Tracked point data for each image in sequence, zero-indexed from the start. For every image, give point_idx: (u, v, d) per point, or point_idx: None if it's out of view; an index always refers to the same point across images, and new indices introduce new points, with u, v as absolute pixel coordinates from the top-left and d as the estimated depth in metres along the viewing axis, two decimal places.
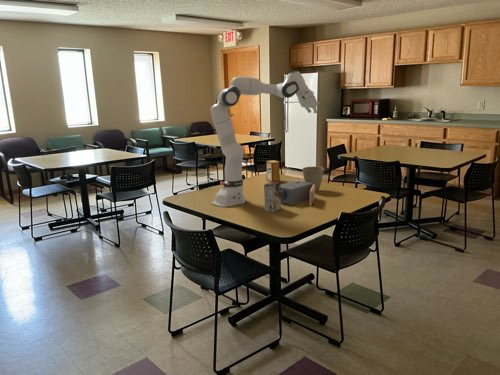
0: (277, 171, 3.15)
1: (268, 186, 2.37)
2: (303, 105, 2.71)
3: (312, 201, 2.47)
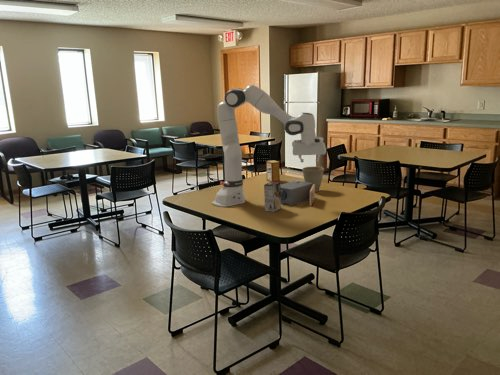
0: (277, 171, 3.15)
1: (268, 186, 2.37)
2: (300, 152, 2.48)
3: (312, 201, 2.47)
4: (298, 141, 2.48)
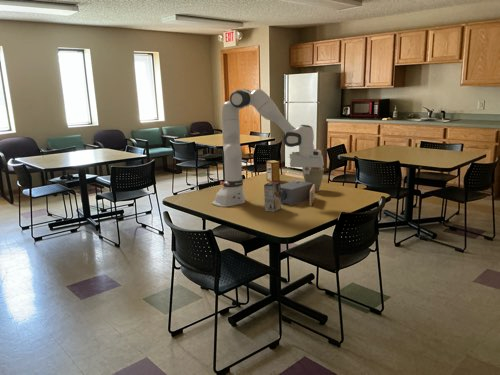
0: (277, 171, 3.15)
1: (268, 186, 2.37)
2: (298, 164, 2.47)
3: (312, 201, 2.47)
4: (296, 153, 2.47)
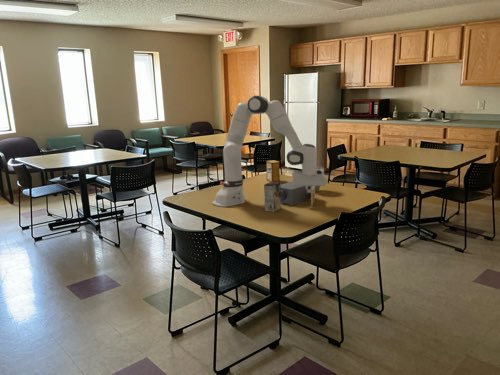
0: (277, 171, 3.15)
1: (268, 186, 2.37)
2: (301, 183, 2.48)
3: (313, 201, 2.47)
4: (299, 172, 2.48)
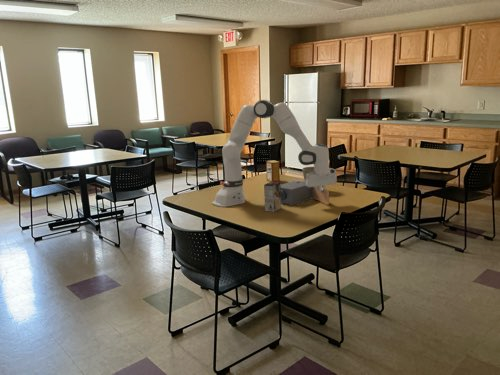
0: (277, 171, 3.15)
1: (268, 186, 2.37)
2: (315, 183, 2.45)
3: (328, 200, 2.48)
4: (312, 173, 2.45)
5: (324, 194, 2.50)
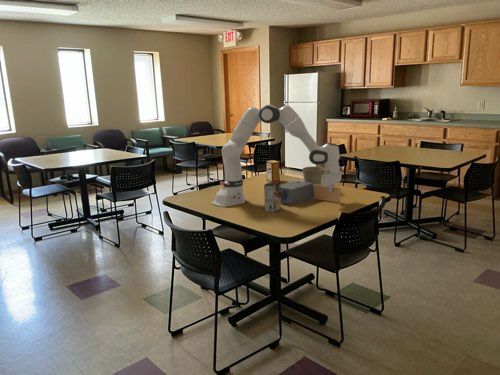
0: (277, 171, 3.15)
1: (268, 186, 2.37)
2: (330, 183, 2.47)
3: (339, 197, 2.54)
4: (327, 172, 2.45)
5: (334, 192, 2.54)
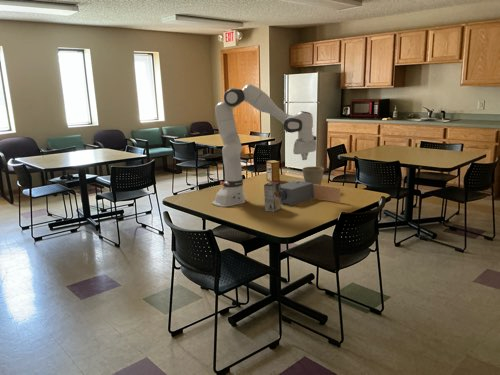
0: (277, 171, 3.15)
1: (268, 186, 2.37)
2: (302, 150, 2.50)
3: (339, 197, 2.54)
4: (299, 140, 2.48)
5: (334, 192, 2.54)
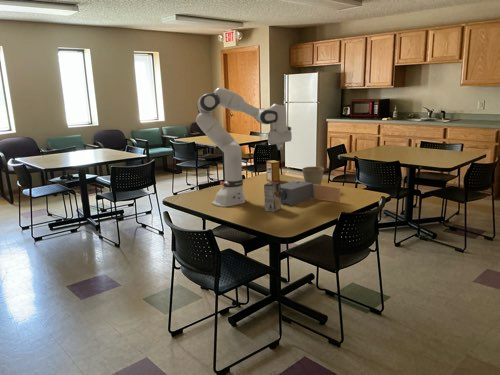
0: (277, 171, 3.15)
1: (268, 186, 2.37)
2: (276, 140, 2.64)
3: (339, 197, 2.54)
4: (273, 130, 2.62)
5: (334, 192, 2.54)
